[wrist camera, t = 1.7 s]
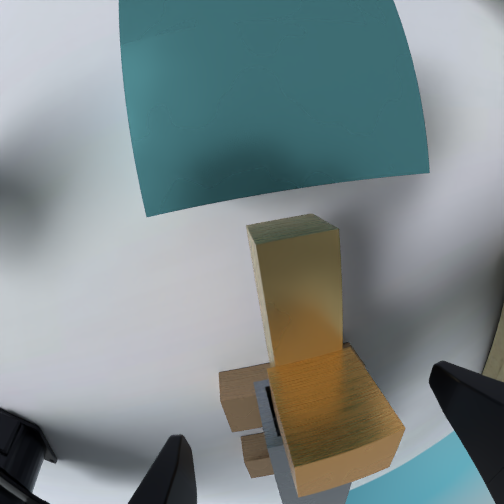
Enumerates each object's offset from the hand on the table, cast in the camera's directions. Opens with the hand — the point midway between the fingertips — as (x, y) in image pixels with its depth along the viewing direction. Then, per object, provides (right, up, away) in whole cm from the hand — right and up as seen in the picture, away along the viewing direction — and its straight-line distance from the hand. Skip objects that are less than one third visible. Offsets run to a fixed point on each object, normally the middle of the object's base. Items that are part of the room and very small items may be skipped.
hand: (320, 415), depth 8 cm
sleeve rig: (-1, +2, +7) cm, 7 cm away
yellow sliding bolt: (0, -2, +5) cm, 6 cm away
